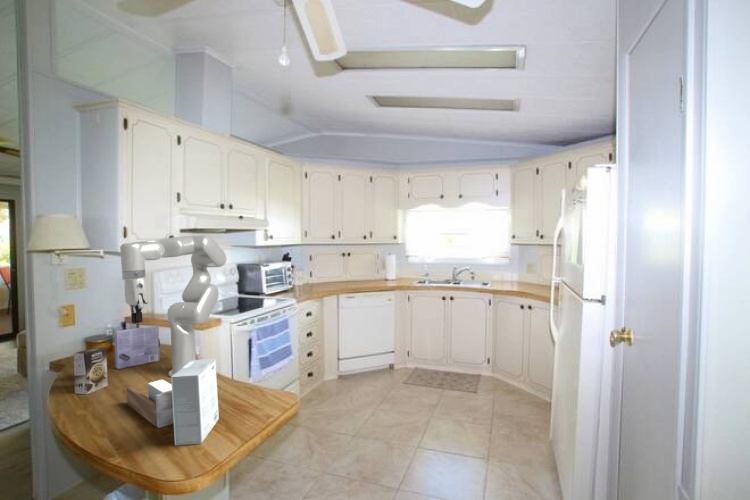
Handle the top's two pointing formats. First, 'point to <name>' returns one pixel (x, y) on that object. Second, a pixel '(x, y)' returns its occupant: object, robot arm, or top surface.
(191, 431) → the hard drive box
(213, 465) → the top surface
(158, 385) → the boxed book
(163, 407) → the book rack
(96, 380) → the coffee box
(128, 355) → the cake pan box
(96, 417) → the top surface
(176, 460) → the top surface
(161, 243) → the robot arm
